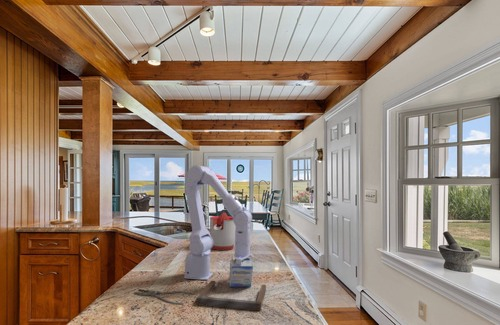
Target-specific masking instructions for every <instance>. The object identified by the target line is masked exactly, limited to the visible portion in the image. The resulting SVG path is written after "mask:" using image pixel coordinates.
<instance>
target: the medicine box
mask: <svg viewBox="0 0 500 325" xmlns="http://www.w3.org/2000/svg"><path fill="white" fill-rule="evenodd" d="M229 262H230V265H229V276H228V277H229V278H228V282H229V287H230V288H238V287H239V288H241V287H242V288H244V287H252V280H253V272H254V271H253V270H254V266H253V261H252V259H250V260H242V264H241V265H240V264H236V260H235V259H231V260H230V261H229Z"/></svg>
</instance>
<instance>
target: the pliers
mask: <svg viewBox="0 0 500 325" xmlns="http://www.w3.org/2000/svg"><path fill="white" fill-rule="evenodd" d="M143 291H144V292H143ZM136 294H137V296H141V297H152V298H157V299H158V300H160V301H162V302H165V303H167V304H171V305H180V306H181V305H184V303H183V302H175V301H171V300H168V299H166V298H164V297H162V295H169V294H170V295H172V294H188V295H192V296H193V295H195V292H190V291H186V290H185V291H184V290H176V291H175V290H174V291H157V290H151V289H141V288H139V289H138V290H137V291H134V292H133V295H136Z"/></svg>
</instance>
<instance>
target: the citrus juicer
mask: <svg viewBox="0 0 500 325" xmlns="http://www.w3.org/2000/svg"><path fill="white" fill-rule="evenodd" d="M235 227H236V226H235V224H234V222H233V217H232V216H231V215H229V216H228V214H227V213H226V212H222V213H221V214H220V215H216V216H214V215H213V216H210V217H209V232H210V236H211V238H212V239H213V247H212V248H211V249H213V250H218V251H228V250H232V249H234V248H235Z"/></svg>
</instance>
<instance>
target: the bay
mask: <svg viewBox="0 0 500 325" xmlns="http://www.w3.org/2000/svg"><path fill="white" fill-rule="evenodd" d="M215 287H216V280H210V282H209V283H208V284H207V285H206V286H205V288H204V289H203V290H202V291H201V292H200V293H199V295H198V296H197V297H196V305H197V306H207V307H208V306H209V307H220V308H227V309H239V310H240V309H241V310H249V311H262V307H263V303H264V300H265V295H266V292H267V285H266V284H261V286H260V289H259V293H258V296H257V299H256V301H255V300H243V299H233V298H226V297H225V298H224V297H215V296H213V297H212V296H210V294H211V293H212V291H213V290H214V289H215Z"/></svg>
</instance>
